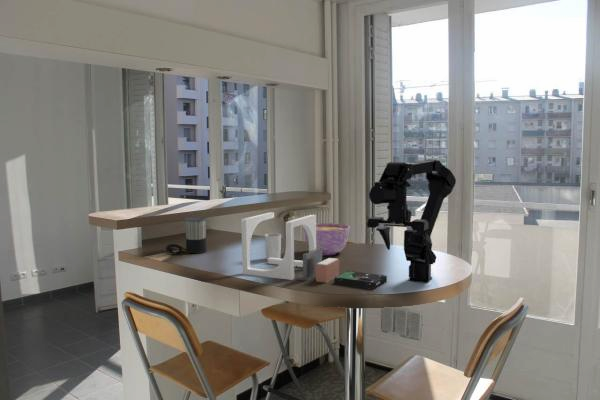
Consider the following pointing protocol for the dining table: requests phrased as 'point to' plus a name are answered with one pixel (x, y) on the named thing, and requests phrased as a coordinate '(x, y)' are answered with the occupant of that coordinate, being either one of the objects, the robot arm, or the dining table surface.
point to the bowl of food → (330, 237)
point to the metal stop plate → (310, 264)
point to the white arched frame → (287, 263)
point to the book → (327, 270)
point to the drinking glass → (273, 245)
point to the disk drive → (360, 279)
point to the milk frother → (192, 237)
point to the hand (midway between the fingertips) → (396, 250)
